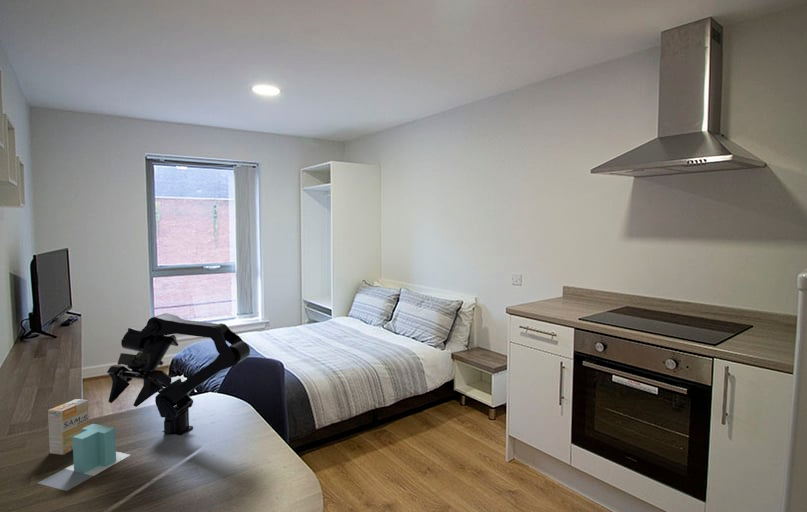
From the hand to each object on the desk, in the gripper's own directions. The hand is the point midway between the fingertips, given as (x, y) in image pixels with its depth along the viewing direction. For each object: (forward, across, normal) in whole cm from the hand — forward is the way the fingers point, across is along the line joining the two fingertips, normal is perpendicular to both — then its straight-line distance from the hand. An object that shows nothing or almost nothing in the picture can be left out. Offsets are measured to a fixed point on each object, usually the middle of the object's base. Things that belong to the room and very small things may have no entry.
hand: (122, 404), depth 122 cm
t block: (+15, 0, +2) cm, 16 cm away
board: (+17, 0, +2) cm, 17 cm away
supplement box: (+12, -15, +7) cm, 21 cm away
